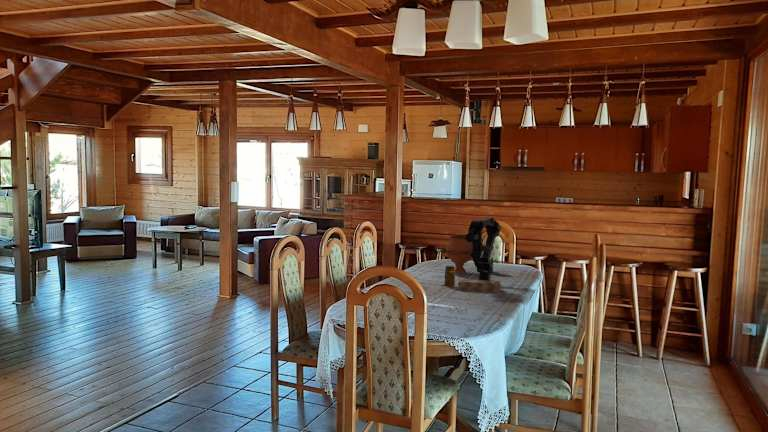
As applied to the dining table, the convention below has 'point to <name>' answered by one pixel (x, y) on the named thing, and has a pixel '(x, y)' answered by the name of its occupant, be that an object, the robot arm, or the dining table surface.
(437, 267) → the dining table surface
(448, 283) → the condiment
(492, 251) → the milk carton
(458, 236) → the goblet
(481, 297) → the dining table surface
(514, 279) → the dining table surface
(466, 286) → the housing
